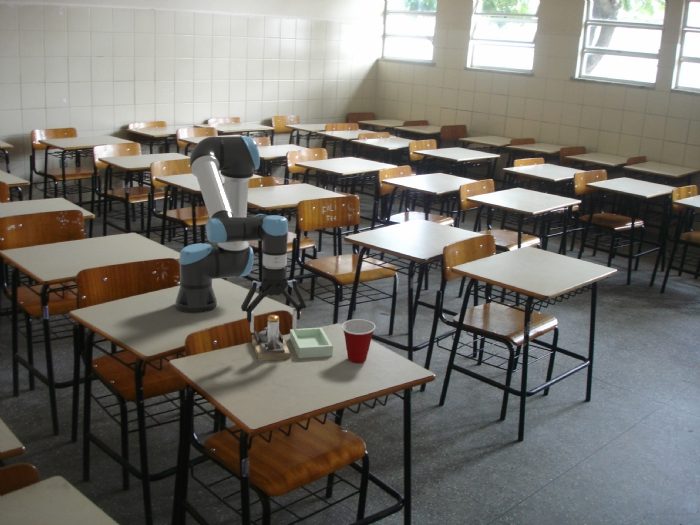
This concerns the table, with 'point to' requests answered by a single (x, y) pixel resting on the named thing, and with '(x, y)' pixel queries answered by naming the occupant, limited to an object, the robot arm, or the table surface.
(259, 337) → the pulley block
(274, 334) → the glass bottle
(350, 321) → the plastic cup
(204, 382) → the table surface
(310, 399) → the table surface
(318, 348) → the tray
